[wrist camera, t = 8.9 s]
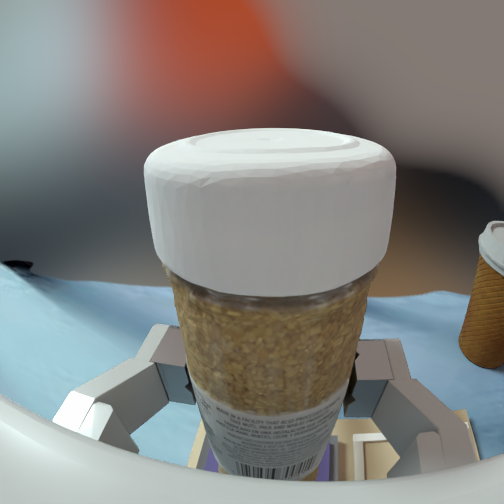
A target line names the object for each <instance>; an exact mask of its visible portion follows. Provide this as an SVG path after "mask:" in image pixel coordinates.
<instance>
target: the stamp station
mask: <svg viewBox="0 0 504 504" xmlns="http://www.w3.org/2000/svg"><path fill="white" fill-rule="evenodd" d="M452 412H453V413H454V414H456V415H457V416H458V417H459V418H460V419H461V420H462V421H463V422H464V423H465V424H467V428H468V431H469V435H470V438H471V442H472V446H473V450H474V454H475V458H476V461H480V459H479V455H478V451H477V447H476V443H475V439H474V435H473V432H472V428H471V425H470V421H469V418H468V415H467V412H466V409H462V410H456V411H452ZM399 459H400V457H399V455H398V454H397V453H396V451H395V450H394V449H393V447H392V446H391V445H390V443H389V442H388V441H387V439H386V438H385V437H384V435H383V434H382V433H381V431H380V430H379V429H378V427H377V426H376V425H375V423H374V422H373V420H372V419H337V421H336V424H335V426H334V429H333V432H332V434H331V437H330V440H329V442H328V445H327V447H326V450H325V452H324V455H323V457H322V460H321V462H320V464H319V468H318V476H317V478H316V480H315V481H358V480H372V479H383V478H387V473H388V472H389V470H390V469H391V468H392V467H393V466H394V465H395V463H396V462H397V461H398V460H399ZM187 467H190V468H195V469H200V470H206V471H211V472H217V473H219V470H218V462H217V460H216V458H215V456H214V454H213V452H212V449H211V446H210V443H209V440H208V437H207V434H206V431H205V428H204V424H203V421H202V419H201V422H200V425H199V428H198V432H197V435H196V438H195V442H194V445H193V448H192V451H191V455H190V458H189V461H188V464H187Z"/></svg>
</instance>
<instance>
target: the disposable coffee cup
mask: <svg viewBox="0 0 504 504" xmlns="http://www.w3.org/2000/svg"><path fill="white" fill-rule="evenodd" d="M479 245H480V246H479V250H480V257H479V262H478V267H477V272H476V276H475V281H474V285H473V290H472V293H471V298H470V301H469V304H468V309H467V313H466V316H465V319H464V323H463V326H462V329H461V333H460V335H459V346H460V349H461V351H462V352H463V354H464V355H465V356H466V357H467V358H468V359H469V360H470V361H471V362H473V363H474V364H476V365H478V366H481V367H484V368H497V367H499V366H501V365H502V364H503V363H504V221H493V222H490V223H489V224H488V225H487V227H486V229H485V231H484V233H482V234H481V235H480V237H479Z"/></svg>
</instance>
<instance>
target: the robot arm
mask: <svg viewBox="0 0 504 504" xmlns="http://www.w3.org/2000/svg"><path fill="white" fill-rule="evenodd" d="M169 401H172V402H178V403H184V404H190V405H195V404H196V397H195V394H194V390H193V387H192V383H191V380H190V376H189V372H188V368H187V362H186V352H185V346H184V342H183V338H182V335H181V330H180V327H179V326H172V325H171V326H169V325H163V324H155V325H154V326H153V327H152V329H151V331H150V332H149V334H148V336H147V337H146V339H145V341H144V342H143V344H142V346H141V348H140V349H139V351H138V353H137V355H136V356H135V358H134V359H133V358H129V359H127V360H126V361H124V362H122V363H120V364H119V365H117V366H115V367H113V368H112V369H110V370H108V371H106V372H104V373H103V374H101V375H99V376H97V377H96V378H94V379H92V380H90V381H88V382H87V383H85V384H83V385H81V386H79V387H78V388H76V389H74V390H72V391H71V392H70V394H69V395H68V397H67V399H66V400H65V402H64V403H63V405H62V406H61V408H60V410H59V411H58V413H57V415H56V416H55V418H54V419H53V421H51V420H49V419H46V418H44V417H42V416H40V415H38V414H36V413H34V412H33V411H31V410H29V409H27V408H25V407H23V406H21V405H19V404H18V403H16V402H14V401H12V400H11V399H9V398H7V397H5V396H4V395H2V394H0V504H504V453H502V454H499V455H496V456H493V457H490V458H486V459H483V460H480V461H476V458H475V454H474V450H473V446H472V442H471V438H470V435H469V431H468V428H467V424H465V423H464V422H463V421H462V420H461V419H460V418H459V417H458V416H457V415H456V414H454V413H453V412H452V411H451V410H450V409H449V408H448V407H447V406H446V405H444V404H443V403H442V402H441V401H440V400H439V399H438V398H437V397H436V396H435V395H433V394H432V393H431V392H430V391H429V390H428V389H427V388H426V387H424V386H423V385H422V384H421V383H420V382H419V381H418V380H417V379H411V376H410V372H409V369H408V365H407V361H406V358H405V354H404V351H403V348H402V344H401V341H400V340H399V339H398V338H397V339H359V342H358V346H357V350H356V353H355V360H354V364H353V367H352V371H351V375H350V379H349V384H348V387H347V391H346V394H345V397H344V400H343V406H344V417H372V418H371V419H372V420H373V422H374V423H375V425H376V426H377V427H378V429H379V430H380V431H381V433H382V434H383V435H384V437H385V438H386V439H387V441H388V442H389V443H390V445H391V446H392V447H393V449H394V450H395V451H396V453H397V454H398V455H399V457H400V459H399V460H398V461H397V462H396V463H395V465H394V466H393V467H392V468H391V469H390V470H389V472H388V473H387V478H383V479H372V480H358V481H288V480H273V479H262V478H252V477H244V476H236V475H229V474H223V473H217V472H211V471H206V470H200V469H195V468H190V467H186V466H181V465H177V464H173V463H169V462H165V461H161V460H157V459H153V458H150V457H146V456H143V455H139V454H138V452H139V448H138V446H137V445H136V443H135V442H134V440H133V439H132V438H131V436H130V434H131V433H133V432H134V431H135V430H136V429H138V428H139V427H140V426H141V425H143V424H144V423H145V422H146V421H147V420H149V419H150V418H151V417H152V416H154V415H155V414H156V413H157V412H158V411H160V410H161V409H162V408H163V407H164V406H166V405H167V404H168V403H169Z"/></svg>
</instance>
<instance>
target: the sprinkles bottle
mask: <svg viewBox="0 0 504 504" xmlns="http://www.w3.org/2000/svg"><path fill="white" fill-rule="evenodd" d="M144 179H145V187H146V195H147V203H148V211H149V218H150V224H151V230H152V235H153V241H154V247H155V250H156V253H157V255H158V257H159V258H160V259H161V261H162V265H163V268H164V270H165V272H166V274H167V277H168V279H169V281H170V282H171V286H172V289H173V293H174V303H175V307H176V311H177V316H178V321H179V324H180V330H181V335H182V338H183V342H184V346H185V352H186V362H187V368H188V372H189V376H190V380H191V383H192V387H193V390H194V394H195V397H196V401H197V404H198V407H199V411H200V414H201V418H202V421H203V424H204V428H205V431H206V434H207V437H208V440H209V443H210V446H211V449H212V452H213V454H214V456H215V458H216V460H217V462H218V470H219V473H223V474H229V475H236V476H244V477H252V478H262V479H273V480H288V481H315V480H316V478H317V476H318V468H319V464H320V462H321V460H322V457H323V455H324V452H325V450H326V447H327V445H328V442H329V440H330V437H331V434H332V432H333V429H334V426H335V424H336V421H337V418H338V415H339V412H340V409H341V406H342V403H343V400H344V397H345V394H346V391H347V387H348V384H349V379H350V375H351V371H352V367H353V364H354V360H355V353H356V350H357V346H358V342H359V338H360V335H361V331H362V326H363V321H364V315H365V312H366V307H367V295H368V291H369V288H370V284H371V282H372V281H373V279H374V277H375V276H376V274H377V271H378V268H379V265H380V261H381V259H382V258H383V257H384V255H385V253H386V250H387V246H388V241H389V235H390V229H391V222H392V214H393V205H394V194H395V184H396V164H395V161H394V158H393V156H392V155H391V153H390V152H389V151H388V150H387V149H385V148H384V147H382V146H381V145H379V144H377V143H374V142H371V141H369V140H365V139H362V138H358V137H354V136H348V135H342V134H337V133H332V132H326V131H318V130H308V129H288V128H260V129H241V130H230V131H222V132H215V133H209V134H204V135H200V136H195V137H190V138H185V139H181V140H178V141H175V142H172V143H169V144H166V145H164V146H162V147H160V148H158V149H156V150H155V151H154V152H152V153H151V154H150V156H149V157H148V158H147V160H146V162H145V164H144Z"/></svg>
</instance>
